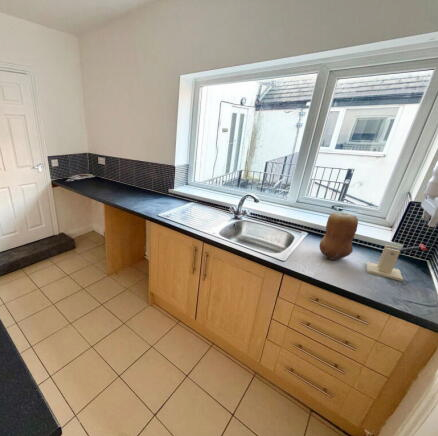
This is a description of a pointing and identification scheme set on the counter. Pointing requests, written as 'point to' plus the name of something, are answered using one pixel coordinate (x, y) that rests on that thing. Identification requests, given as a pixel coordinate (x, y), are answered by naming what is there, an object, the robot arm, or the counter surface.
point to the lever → (412, 248)
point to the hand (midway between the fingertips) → (427, 223)
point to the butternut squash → (339, 235)
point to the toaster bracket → (386, 264)
